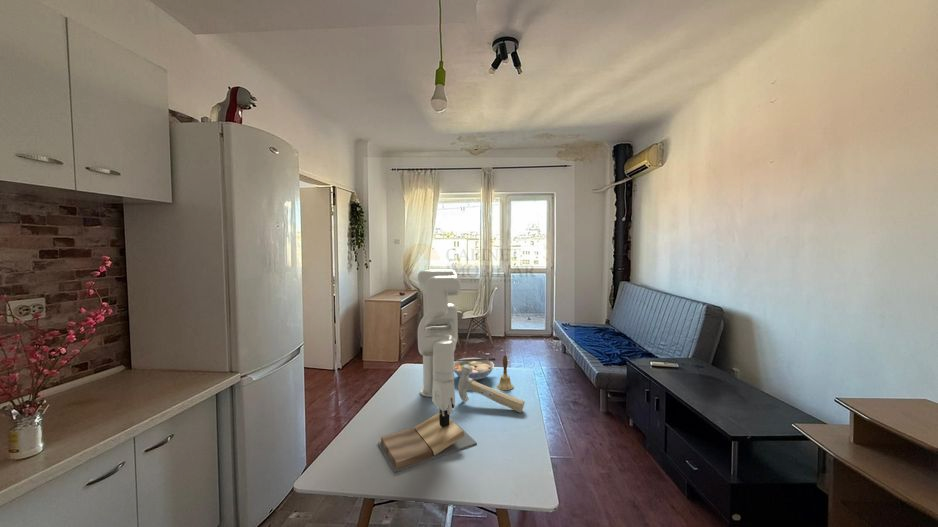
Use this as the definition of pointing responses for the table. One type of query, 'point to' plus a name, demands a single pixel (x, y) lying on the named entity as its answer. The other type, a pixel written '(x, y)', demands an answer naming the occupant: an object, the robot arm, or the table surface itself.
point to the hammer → (486, 391)
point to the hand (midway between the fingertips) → (444, 425)
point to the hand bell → (505, 377)
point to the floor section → (415, 448)
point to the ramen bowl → (475, 367)
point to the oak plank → (438, 433)
